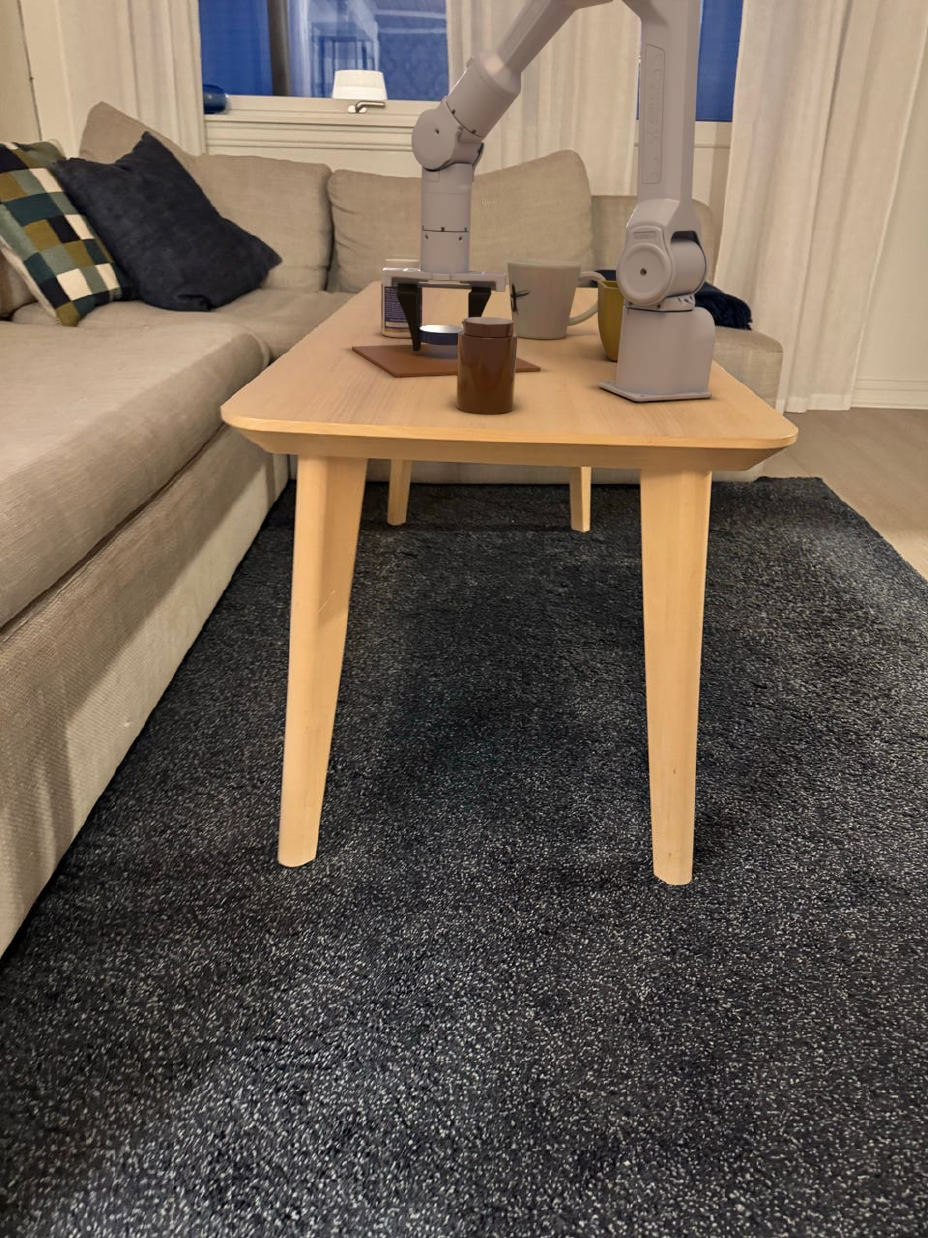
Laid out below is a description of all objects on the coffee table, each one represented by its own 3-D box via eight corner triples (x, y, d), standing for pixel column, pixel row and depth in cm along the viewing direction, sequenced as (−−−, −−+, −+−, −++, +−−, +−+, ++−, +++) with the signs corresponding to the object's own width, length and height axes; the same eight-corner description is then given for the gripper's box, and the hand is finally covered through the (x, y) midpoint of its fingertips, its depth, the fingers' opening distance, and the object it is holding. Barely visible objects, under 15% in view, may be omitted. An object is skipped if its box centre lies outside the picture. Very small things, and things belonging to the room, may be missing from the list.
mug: (498, 329, 136) (501, 257, 131) (595, 331, 137) (602, 260, 133) (509, 340, 126) (513, 263, 122) (613, 342, 128) (621, 266, 124)
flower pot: (656, 354, 120) (665, 282, 116) (668, 366, 112) (678, 289, 109) (590, 351, 120) (597, 279, 117) (597, 363, 113) (604, 286, 109)
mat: (481, 345, 122) (481, 342, 122) (540, 370, 107) (540, 367, 107) (351, 349, 116) (351, 346, 116) (395, 377, 101) (395, 373, 101)
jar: (498, 399, 92) (503, 315, 89) (522, 412, 88) (528, 324, 84) (447, 402, 90) (449, 316, 87) (469, 415, 86) (472, 325, 82)
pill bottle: (429, 337, 127) (431, 260, 123) (394, 339, 124) (394, 261, 120) (408, 331, 131) (409, 257, 127) (373, 333, 128) (373, 257, 124)
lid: (438, 335, 114) (438, 323, 114) (477, 341, 111) (478, 329, 111) (408, 340, 110) (408, 328, 109) (448, 347, 107) (449, 334, 106)
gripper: (377, 229, 102) (378, 353, 108) (506, 235, 101) (500, 359, 107) (387, 226, 108) (388, 344, 114) (509, 231, 107) (502, 349, 113)
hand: (442, 351), depth 111 cm, fingers closed on lid, 6 cm apart
